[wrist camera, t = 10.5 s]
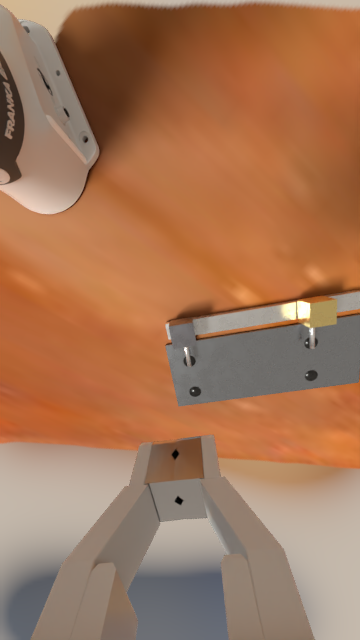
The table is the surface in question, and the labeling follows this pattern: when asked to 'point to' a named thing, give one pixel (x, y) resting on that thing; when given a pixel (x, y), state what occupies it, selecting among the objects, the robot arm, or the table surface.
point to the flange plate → (267, 362)
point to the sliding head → (317, 314)
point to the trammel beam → (244, 319)
